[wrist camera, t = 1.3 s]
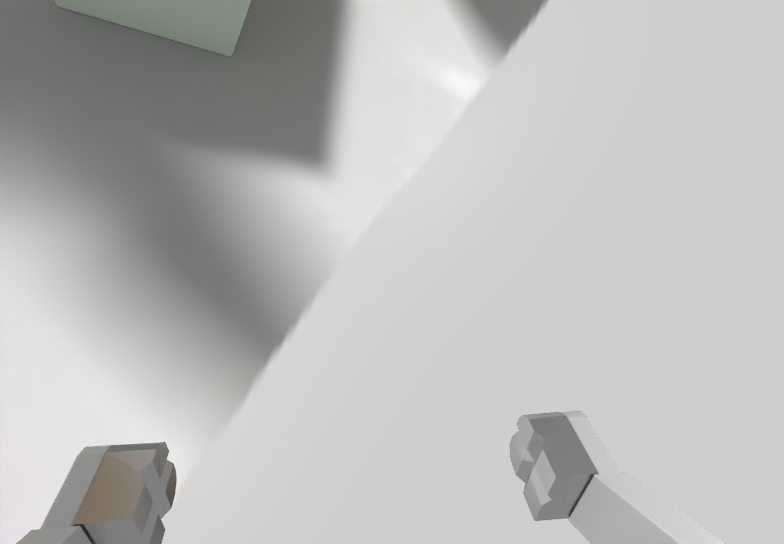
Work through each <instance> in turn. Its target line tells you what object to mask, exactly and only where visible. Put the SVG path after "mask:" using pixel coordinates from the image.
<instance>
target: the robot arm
mask: <svg viewBox="0 0 784 544" xmlns="http://www.w3.org/2000/svg"><path fill="white" fill-rule="evenodd" d="M517 427H518V429H519V431H518V432H517V433H516V434H514V435H513V436H512V439H511V442H510V457H511V462H512V465H513V468H514V470H515V473H516V475H517V476H518V477H519V478H520V479H521V480H523V481H524V482H525V483H526V484H525V488H524V492H523V494H524V496H525V499H526V501H527V503H528V506H529V508H530V511H531V514H532V516H533V518H534V520H535V521H539V520H551V519H562V518H569V519H568V520H569V522H570V523H571V524H572V525H573V526H574V527H575V528H576V529H577V530H578V531H579V532H580V533H581V534H582V535H583V536H584V537H585V538H586V539H587V540H588V541H589V542H590V543H591V544H725V543H723V542H722V541H720V540H719V539H718V538H716V537H715V536H714V535H712V534H711V533H710V532H708V531H707V530H705V529H704V528H703V527H701V526H700V525H699V524H697V523H696V522H695V521H693V520H692V519H690V518H689V517H688V516H686V515H685V514H684V513H682V512H681V511H680V510H678V509H677V508H675V507H674V506H673V505H671V504H670V503H669V502H667V501H666V500H664V499H663V498H662V497H661V496H659V495H658V494H656V493H655V492H654V491H652V490H651V489H649V488H648V487H647V486H645V485H644V484H643V483H641V482H640V481H639V480H637V479H636V478H635V477H633V476H632V475H631V474H629V473H628V472H621V471H620V470H619V468H618V466H617V465H616V463H615V462H614V460H613V459H612V457H611V455H610V454H609V452H608V450H607V449H606V447H605V445H604V444H603V443H602V441H601V439H600V437H599V436H598V434H597V433H596V431H595V429H594V428H593V426H592V425H591V423H590V421H589V420H588V418H587V416H586V415H585V414H584V413H582V412H581V411H572V412H562V413H560V412H553V413H543V414H531V415H523V416H521V417H520V418H519V420H518V422H517ZM168 453H169V450H168V448H167V445H166V443H165V442H159V443H143V444H126V445H106V446H93V447H85V448H84V449H83V450H82V451H81V453H80V454H79V455H78V456H77V458H76V460H75V462H74V464H73V466H72V468H71V470H70V471H69V473H68V475H67V477H66V479H65V481H64V483H63V485H62V487H61V489H60V491H59V493H58V495H57V497H56V499H55V501H54V503H53V505H52V507H51V509H50V511H49V513H48V514H47V516H46V518H45V520H44V522H43V524H42V526H41V528H40V529H37V530H31V531H30V532H29V533H28V534H27V535H25V536H24V537H23V538H22V539H21V540H20V541H19V542H17V543H16V544H161V543H162V539H163V536H164V532H165V528H164V526H163V523H162V521H161V518H162V517H163V516H164V515H165V514H166V513H167V512H168V511H169V510H170V509H171V507H172V504H173V500H174V496H175V489H176V470H175V467H174V464H173V463H172V462H170V461H168V460H167V456H168Z"/></svg>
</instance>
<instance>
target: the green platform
mask: <svg viewBox="0 0 784 544" xmlns="http://www.w3.org/2000/svg"><path fill="white" fill-rule="evenodd" d="M54 1H55V3H56V5H57V6H58V7H61V8H65V9H68V10H72V11H75V12H78V13H82V14H85V15H89V16H92V17H96V18H99V19H102V20H106V21H109V22H113V23H116V24H119V25H123V26H126V27H130V28H133V29H137V30H140V31H143V32H147V33H150V34H154V35H157V36H161V37H164V38H167V39H171V40H174V41H178V42H181V43H184V44H188V45H191V46H195V47H198V48H202V49H205V50H208V51H212V52H215V53H219V54H222V55H226V56H229V57H232V55H233V52H234V49H235V46H236V43H237V40H238V38H239V35H240V32H241V29H242V26H243V23H244V20H245V18H246V15H247V12H248V9H249V6H250V3H251V0H54Z"/></svg>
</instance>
